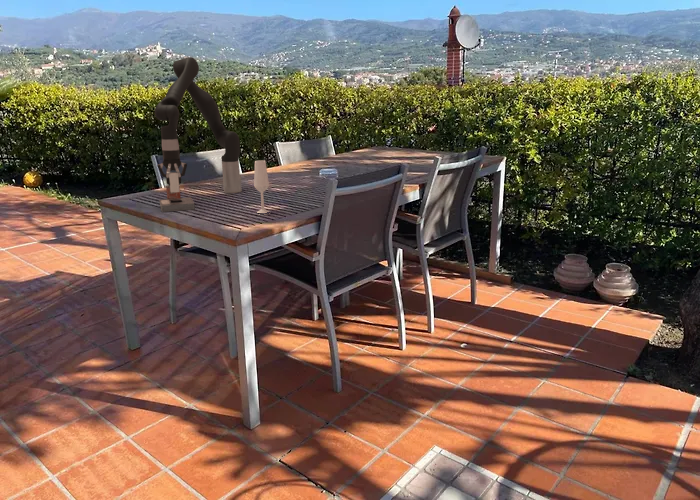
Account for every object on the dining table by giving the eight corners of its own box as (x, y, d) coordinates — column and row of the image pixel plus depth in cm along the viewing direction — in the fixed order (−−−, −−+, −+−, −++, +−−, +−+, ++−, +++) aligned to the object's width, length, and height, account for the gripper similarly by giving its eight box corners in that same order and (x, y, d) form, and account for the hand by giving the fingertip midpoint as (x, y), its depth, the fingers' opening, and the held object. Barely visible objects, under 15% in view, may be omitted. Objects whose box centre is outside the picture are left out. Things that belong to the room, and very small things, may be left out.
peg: (179, 190, 248) (177, 172, 245) (179, 192, 244) (177, 173, 241) (170, 191, 246) (168, 172, 243) (170, 192, 243) (169, 173, 240)
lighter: (182, 200, 264) (180, 181, 261) (178, 201, 261) (176, 182, 258) (169, 199, 267) (167, 180, 263) (165, 200, 263) (163, 181, 260)
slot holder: (191, 203, 257) (190, 196, 256) (194, 209, 244) (194, 202, 243) (160, 205, 251) (159, 199, 250) (161, 212, 238) (161, 205, 237)
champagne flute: (272, 211, 239) (269, 160, 231) (267, 214, 232) (264, 162, 225) (259, 210, 240) (256, 159, 233) (253, 214, 234) (250, 161, 227)
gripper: (185, 147, 245) (188, 182, 250) (154, 148, 240) (158, 184, 245) (187, 149, 238) (190, 185, 243) (154, 150, 233) (159, 187, 238)
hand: (174, 184), depth 244 cm, fingers closed on peg, 4 cm apart
